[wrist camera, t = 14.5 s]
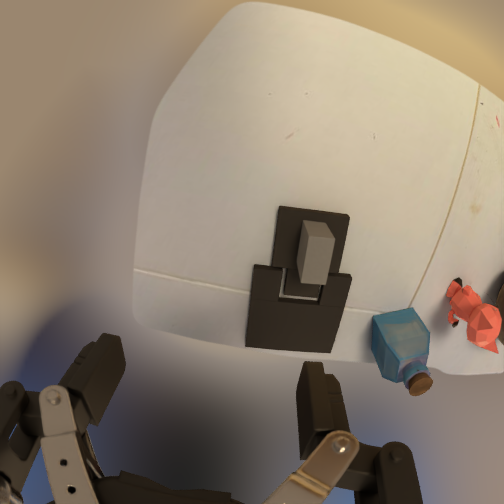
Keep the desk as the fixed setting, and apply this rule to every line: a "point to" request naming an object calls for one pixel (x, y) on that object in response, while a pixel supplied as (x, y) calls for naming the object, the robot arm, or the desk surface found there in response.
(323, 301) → the notch pad
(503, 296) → the bowl
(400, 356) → the perfume bottle
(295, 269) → the tab pad
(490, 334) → the cat figurine
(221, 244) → the desk surface
